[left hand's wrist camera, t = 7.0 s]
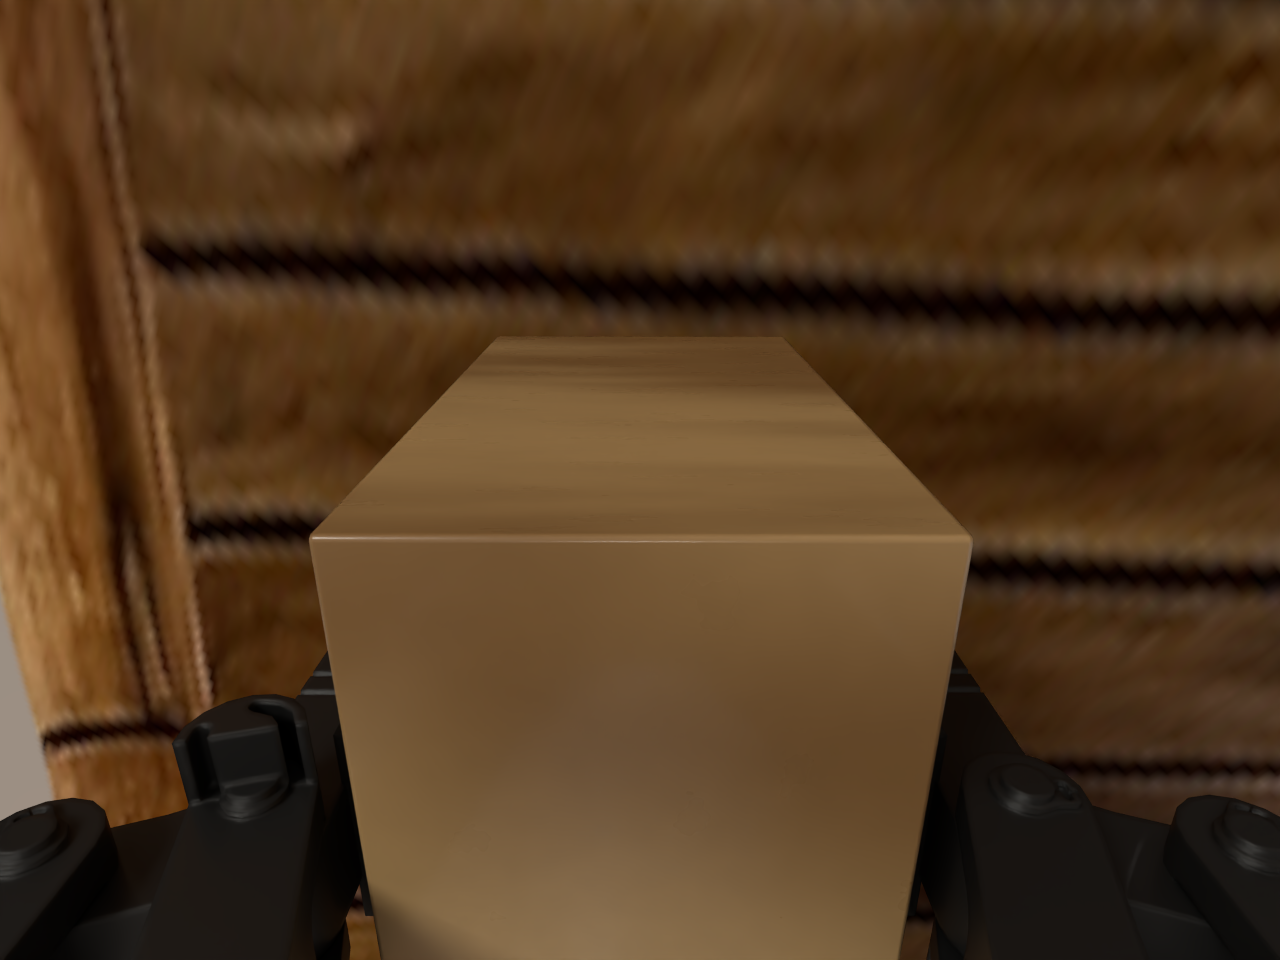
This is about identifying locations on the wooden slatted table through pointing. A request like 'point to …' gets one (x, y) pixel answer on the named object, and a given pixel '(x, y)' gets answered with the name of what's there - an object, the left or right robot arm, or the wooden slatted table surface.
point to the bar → (640, 660)
